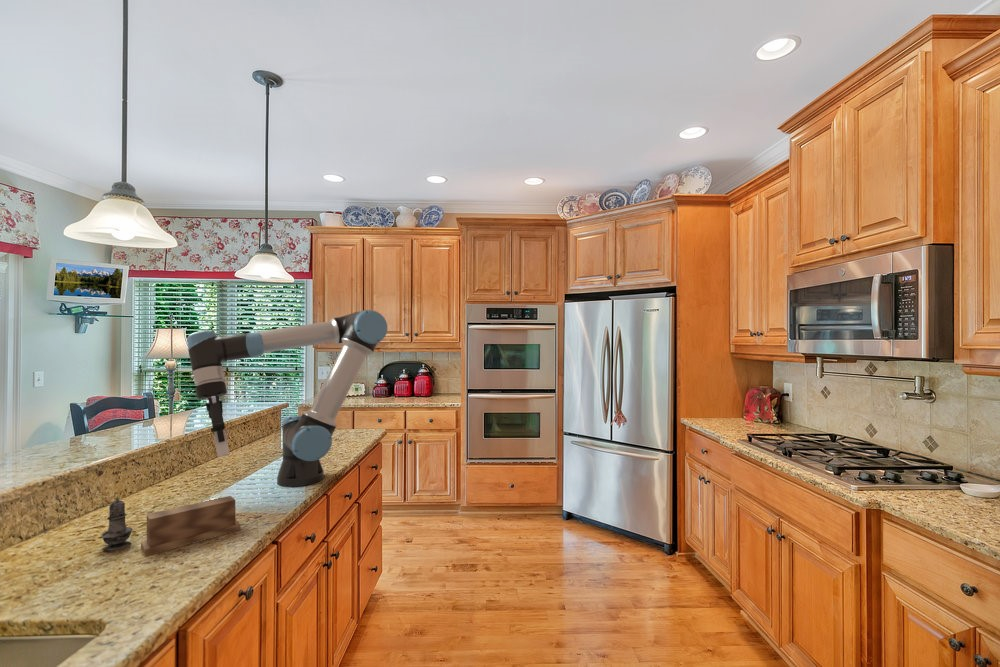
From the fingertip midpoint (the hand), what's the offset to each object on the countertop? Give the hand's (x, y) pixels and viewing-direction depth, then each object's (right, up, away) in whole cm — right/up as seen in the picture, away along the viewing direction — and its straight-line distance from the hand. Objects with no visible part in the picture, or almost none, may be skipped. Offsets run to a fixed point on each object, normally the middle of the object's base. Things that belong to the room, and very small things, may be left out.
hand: (223, 455), depth 132 cm
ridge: (+2, -17, -16) cm, 23 cm away
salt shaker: (-14, -17, -20) cm, 30 cm away
